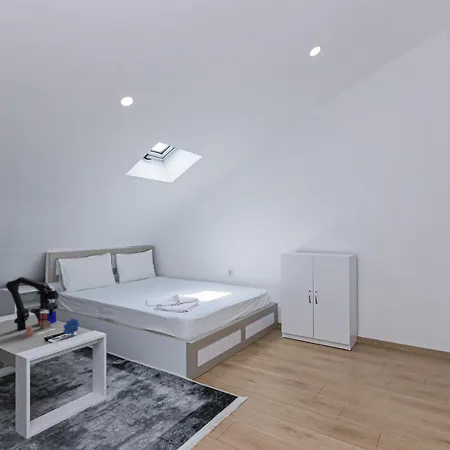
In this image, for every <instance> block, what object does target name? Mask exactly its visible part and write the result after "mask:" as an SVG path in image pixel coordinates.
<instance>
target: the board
mask: <svg viewBox="0 0 450 450" xmlns="http://www.w3.org/2000/svg"><path fill="white" fill-rule="evenodd" d="M55 330H56V327H53V328H49V329H47V330H44V331H39V332H37V333H34V334H33V336H32V337H35V336H39V335H43V334H46V333H48V332H50V331H55ZM32 337H26V338H32Z"/></svg>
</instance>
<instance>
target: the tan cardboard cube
mask: <svg viewBox="0 0 450 450" xmlns="http://www.w3.org/2000/svg"><path fill="white" fill-rule="evenodd" d="M39 327H40V329H42V330H45V329H51V328H50V327H51V324H50V321H44V322H41V323H40V325H39Z"/></svg>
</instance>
